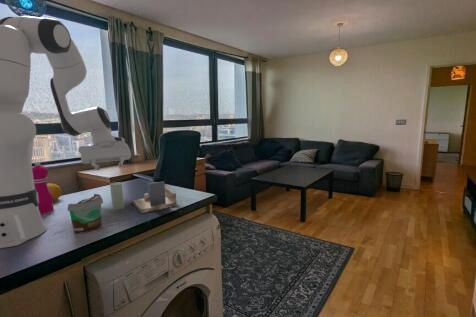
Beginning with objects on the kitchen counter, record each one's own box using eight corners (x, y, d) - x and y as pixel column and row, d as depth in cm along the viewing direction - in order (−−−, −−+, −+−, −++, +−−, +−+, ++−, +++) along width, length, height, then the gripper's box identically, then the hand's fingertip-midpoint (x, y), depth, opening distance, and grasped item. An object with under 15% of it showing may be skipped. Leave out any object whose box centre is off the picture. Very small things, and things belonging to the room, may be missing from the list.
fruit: (52, 197, 126) (50, 181, 125) (66, 198, 124) (64, 181, 123) (34, 203, 118) (31, 185, 117) (48, 204, 116) (45, 186, 114)
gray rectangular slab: (150, 206, 106) (149, 184, 105) (150, 205, 107) (148, 183, 106) (165, 203, 110) (164, 181, 108) (164, 202, 111) (163, 181, 109)
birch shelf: (141, 213, 103) (140, 199, 103) (132, 203, 115) (131, 191, 114) (176, 205, 111) (175, 192, 110) (165, 197, 123) (164, 185, 122)
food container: (87, 236, 84) (83, 205, 83) (70, 235, 85) (66, 204, 84) (113, 221, 96) (110, 194, 95) (97, 220, 97) (95, 193, 96)
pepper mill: (37, 209, 110) (30, 161, 107) (57, 207, 112) (51, 159, 109) (29, 215, 103) (22, 164, 100) (51, 213, 105) (44, 162, 102)
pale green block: (114, 209, 108) (112, 185, 106) (112, 206, 112) (110, 183, 110) (124, 208, 110) (121, 184, 108) (121, 205, 114) (119, 181, 112)
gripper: (77, 140, 116) (82, 166, 110) (127, 137, 128) (134, 161, 121) (78, 150, 121) (82, 175, 114) (126, 146, 132) (132, 169, 126)
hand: (109, 167), depth 118 cm, fingers open, 8 cm apart
